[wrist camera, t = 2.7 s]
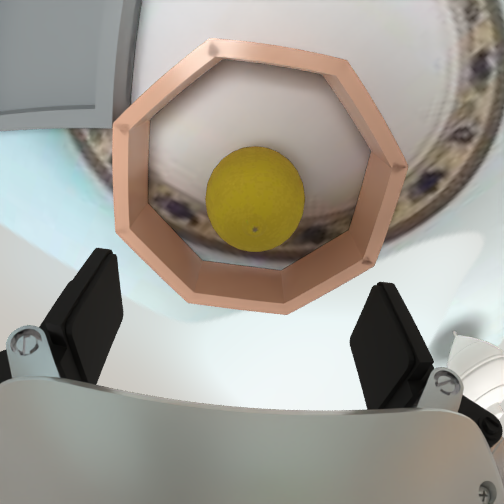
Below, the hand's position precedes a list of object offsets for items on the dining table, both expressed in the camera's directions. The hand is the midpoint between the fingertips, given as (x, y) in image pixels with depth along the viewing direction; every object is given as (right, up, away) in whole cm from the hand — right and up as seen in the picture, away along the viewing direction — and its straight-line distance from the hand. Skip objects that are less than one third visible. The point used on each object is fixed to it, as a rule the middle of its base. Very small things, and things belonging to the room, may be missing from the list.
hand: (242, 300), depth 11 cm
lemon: (+1, +7, +10) cm, 13 cm away
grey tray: (-14, +17, +4) cm, 23 cm away
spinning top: (+22, -7, +19) cm, 30 cm away
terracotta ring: (+1, +7, +10) cm, 12 cm away
